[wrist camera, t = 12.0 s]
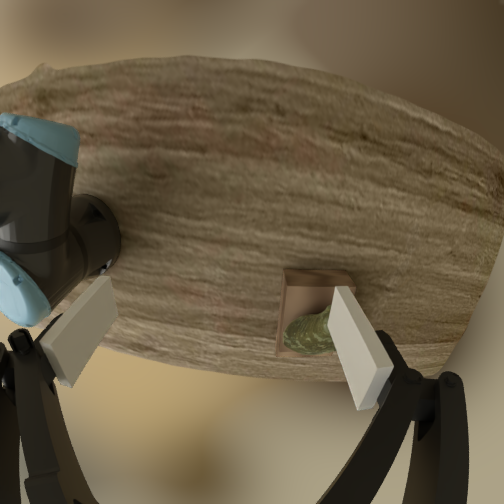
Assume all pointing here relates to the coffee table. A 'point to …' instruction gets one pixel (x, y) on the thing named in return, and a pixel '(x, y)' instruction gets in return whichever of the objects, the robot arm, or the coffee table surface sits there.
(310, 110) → the coffee table surface
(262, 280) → the coffee table surface
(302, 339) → the seashell
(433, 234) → the coffee table surface
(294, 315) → the block
